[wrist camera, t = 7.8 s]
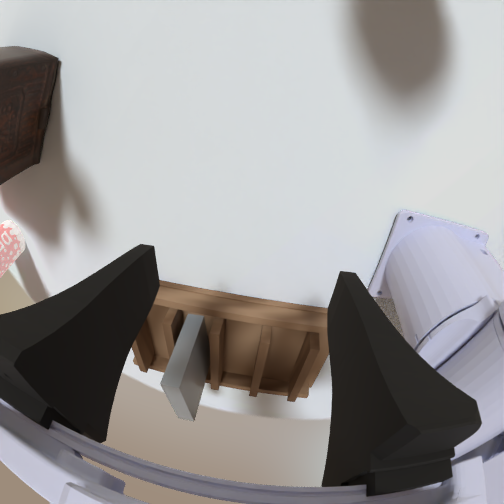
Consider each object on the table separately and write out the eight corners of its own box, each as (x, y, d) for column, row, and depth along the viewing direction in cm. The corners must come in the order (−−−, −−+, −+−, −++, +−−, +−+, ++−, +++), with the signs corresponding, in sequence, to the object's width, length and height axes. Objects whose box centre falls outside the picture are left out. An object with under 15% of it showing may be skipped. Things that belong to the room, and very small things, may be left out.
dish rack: (346, 310, 24) (350, 341, 22) (311, 383, 32) (310, 408, 29) (114, 270, 26) (96, 294, 23) (137, 350, 33) (126, 372, 30)
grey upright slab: (204, 315, 26) (179, 388, 20) (211, 358, 30) (194, 421, 24) (187, 313, 26) (160, 384, 20) (197, 356, 30) (178, 418, 24)
